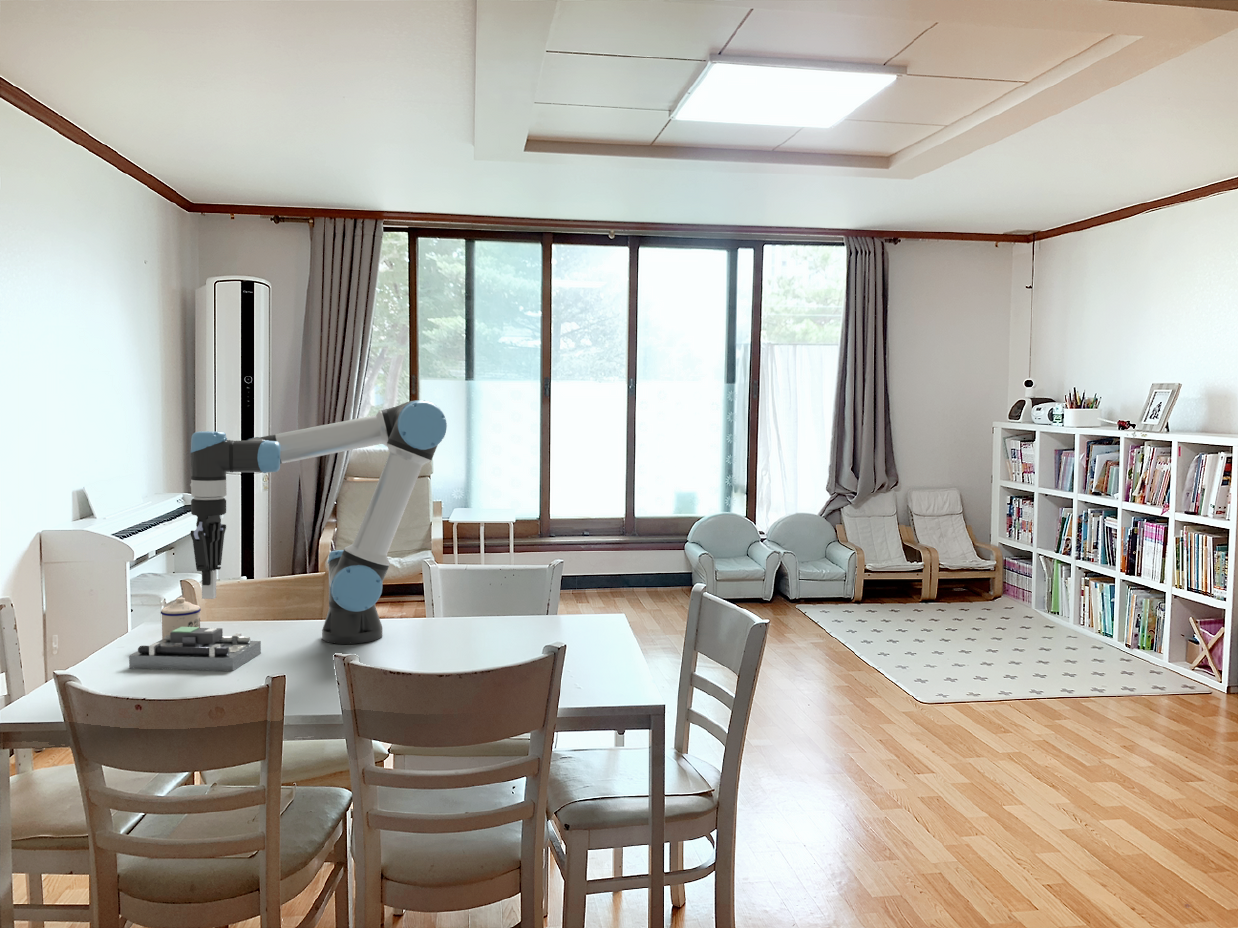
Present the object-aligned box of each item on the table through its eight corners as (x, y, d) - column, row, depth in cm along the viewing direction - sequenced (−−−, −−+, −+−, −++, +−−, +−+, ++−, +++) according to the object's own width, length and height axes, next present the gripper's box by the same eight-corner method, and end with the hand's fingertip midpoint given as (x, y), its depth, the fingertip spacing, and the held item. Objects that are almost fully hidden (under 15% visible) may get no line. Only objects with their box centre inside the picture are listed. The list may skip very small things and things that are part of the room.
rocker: (222, 638, 222) (222, 627, 222) (212, 643, 217) (212, 632, 217) (181, 637, 222) (181, 626, 222) (170, 642, 217) (170, 631, 217)
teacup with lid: (189, 649, 229) (188, 602, 229) (153, 648, 230) (152, 601, 229) (213, 637, 241) (213, 592, 241) (179, 636, 242) (178, 591, 241)
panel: (260, 653, 227) (260, 626, 226) (232, 670, 212) (232, 642, 211) (163, 650, 228) (163, 624, 227) (129, 668, 213) (128, 640, 212)
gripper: (206, 494, 224) (206, 591, 225) (178, 500, 211) (179, 603, 212) (237, 495, 223) (237, 593, 225) (211, 501, 210) (211, 604, 212)
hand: (209, 597), depth 219 cm, fingers closed
